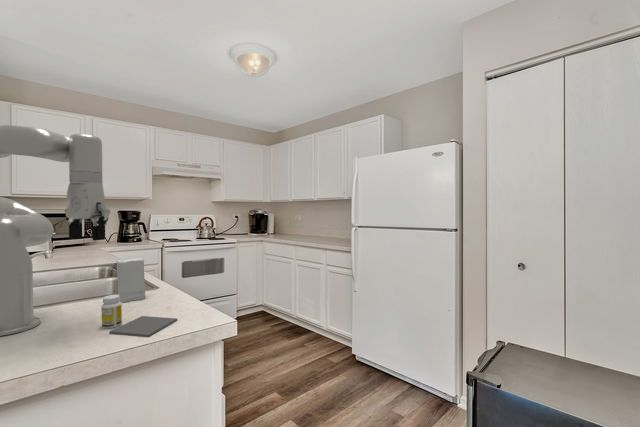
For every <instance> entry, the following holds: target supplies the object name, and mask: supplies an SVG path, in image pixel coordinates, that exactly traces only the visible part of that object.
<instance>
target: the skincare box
mask: <svg viewBox="0 0 640 427" xmlns="http://www.w3.org/2000/svg"><path fill="white" fill-rule="evenodd" d="M116 276H117V278H116V279H117V295H119V296H120V302H122V303H127V302H132V301H137V300H144V299H146V284H145V282H146V280H145V259H143V258H142V257H134V258H128V259H118V260H116Z"/></svg>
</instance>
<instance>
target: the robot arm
mask: <svg viewBox="0 0 640 427" xmlns="http://www.w3.org/2000/svg"><path fill="white" fill-rule="evenodd" d="M11 155H15V156H25V157H33V158H39V159H45V160H50V161H56V162H59V163H68V170H69V171H68V173H69V174H68V175H69V179H68V180H69V183H68V187H67V189H66V190H67V191H66V201H65V209H64V213H65V219H66V220H67V225H68V238H69V240H75V239H83V224H81V223H82V222H83V220H88V219H90V220H91V222H92V224H93V225H92V226H91V227H92V232H91V233H92V240H93V241H102V240H103V241H104V240H106V226H107V224H108V223H107V222H108V221H109V216H110V213H111V210H110V209H109V208H108V207H106V201H105V199H106V198H105V192H104V186H103V181H104V180H103V142H102V140H101V138H100V137H98V136H95V135H94V134H93V135H91V134H87V133H74V134H71V135H70V136H68V135H64V134H61V133H57V132H53V131H50V130H48V129H47V130H46V129H43V128H39V127H32V126H23V125H22V126H21V125H12V124H1V125H0V158H7V157H10V156H11ZM54 232H55V231H54V226H53V224H52V222H51V221H50V220H49V218H47V217H46V216H44V215H42V214H40V212H37V211H35V210H33V209H31V208H29V207H27V206H26V205H25V204H24V205H23V204H22V203H20V202H18V201H15V200H13V199H11V198H9V197H3V196H0V337H2V336H8V335H9V336H10V335H14V334H17V333H21V332H26V331H27V330H28V331H29V330H30V329H33V328H35V327H37V326H39V325H40V324H41V321H42V320H41V317H39V316H35V315H34V278H33V277H34V273H33V272H34V271H33V260H32V257H31V255H30V253H29V252H28V249H27V248H29V247H35V246H39V245H43V244H45V243H48V242H49V240H51V239H52V237H53V236H54Z"/></svg>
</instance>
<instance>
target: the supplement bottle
mask: <svg viewBox="0 0 640 427" xmlns="http://www.w3.org/2000/svg"><path fill="white" fill-rule="evenodd" d="M102 303H103V304H102V305H101V327H102V328H103V329H115V328H118V327H120V326H122V325H123V324H122V323H123V318H122V317H123V316H122V315H123V314H122V313H123V312H122V308H123V307H122V303H121V302H120V296H119V295H118V294H110V295H106V296H103V297H102Z"/></svg>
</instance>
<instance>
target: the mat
mask: <svg viewBox="0 0 640 427" xmlns="http://www.w3.org/2000/svg"><path fill="white" fill-rule="evenodd" d="M177 321H178V318H174V317H161V316H160V317H159V316H148V315H141V316H139V317H137V318H135V319H132V320H130V321H129V322H127V323H125V324H121V325H120V326H117V327H114V328H112V329H110V331H109V332H108V333H109V335H110V334H111V335H122V336H132V337H133V336H134V337H144V338H150V337H151V336H153V335H155V334H156V333H158V332H160V331H162V330H164V329H165V328H168V327H169V326H171V325H173V324H174V323H176V322H177Z"/></svg>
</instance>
